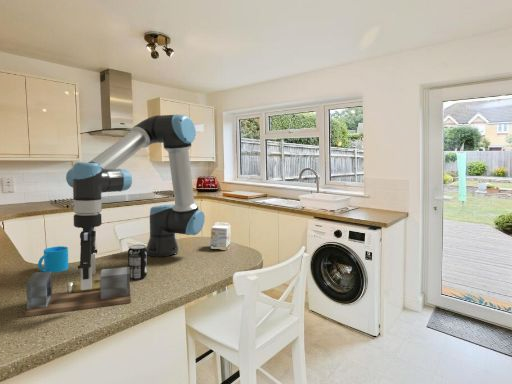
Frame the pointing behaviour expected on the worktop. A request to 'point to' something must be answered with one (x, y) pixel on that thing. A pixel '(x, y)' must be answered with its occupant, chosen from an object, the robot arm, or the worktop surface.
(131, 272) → the beverage can
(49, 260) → the mug
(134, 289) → the worktop surface
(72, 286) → the tube
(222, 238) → the ink box
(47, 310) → the rig
